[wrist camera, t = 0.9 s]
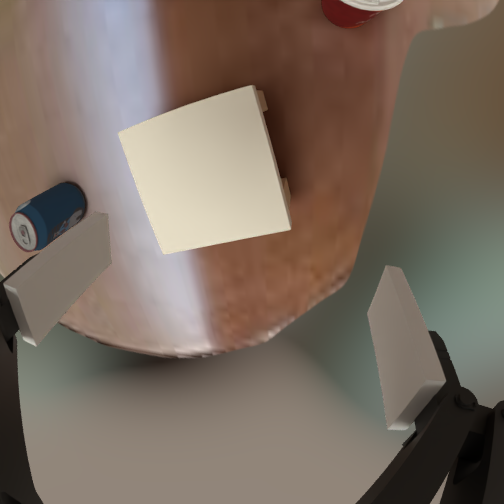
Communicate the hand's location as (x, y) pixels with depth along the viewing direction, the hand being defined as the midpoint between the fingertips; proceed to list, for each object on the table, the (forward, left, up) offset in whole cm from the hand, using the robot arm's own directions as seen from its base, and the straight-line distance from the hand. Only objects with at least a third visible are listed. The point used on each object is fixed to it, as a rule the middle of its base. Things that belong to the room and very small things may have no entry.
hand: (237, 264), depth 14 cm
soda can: (-2, -33, -26) cm, 42 cm away
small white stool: (-1, -7, -26) cm, 27 cm away
